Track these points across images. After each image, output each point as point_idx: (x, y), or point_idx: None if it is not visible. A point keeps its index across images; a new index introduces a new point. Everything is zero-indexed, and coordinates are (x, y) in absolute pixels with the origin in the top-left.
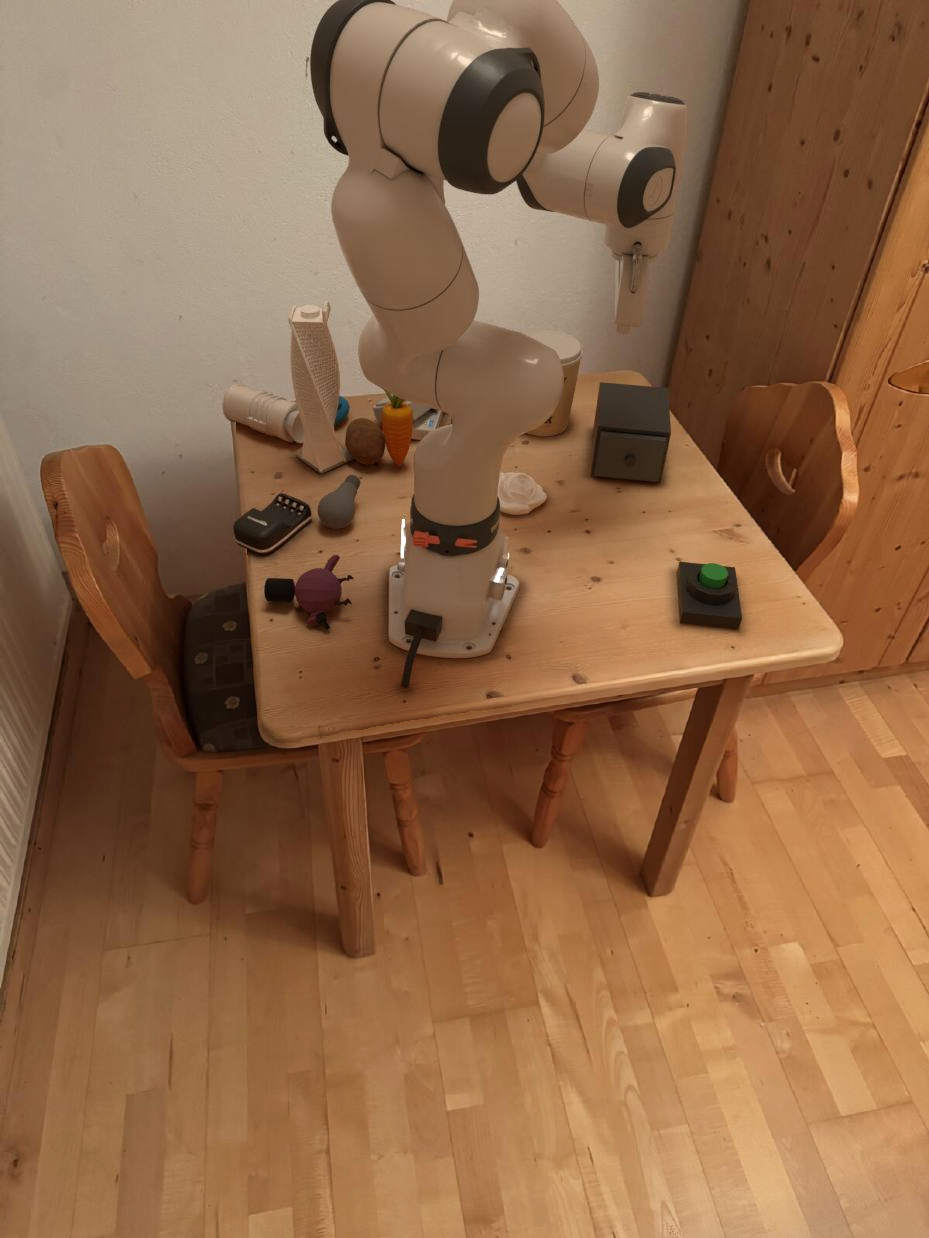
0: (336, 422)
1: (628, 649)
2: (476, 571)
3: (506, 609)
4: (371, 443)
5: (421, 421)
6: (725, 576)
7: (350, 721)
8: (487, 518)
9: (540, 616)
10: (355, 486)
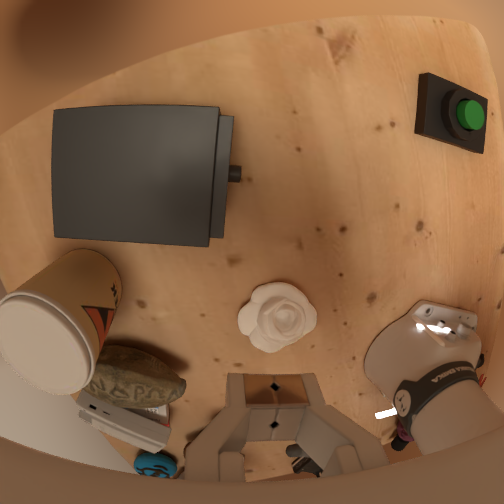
0: (169, 459)
1: (491, 206)
2: (475, 359)
3: (450, 310)
4: None
5: (150, 413)
6: (480, 106)
7: (486, 371)
8: (476, 381)
9: (453, 279)
10: (301, 449)
